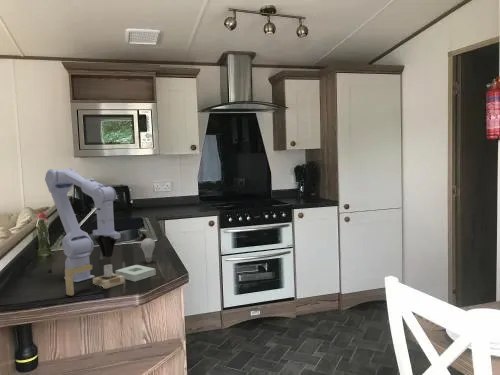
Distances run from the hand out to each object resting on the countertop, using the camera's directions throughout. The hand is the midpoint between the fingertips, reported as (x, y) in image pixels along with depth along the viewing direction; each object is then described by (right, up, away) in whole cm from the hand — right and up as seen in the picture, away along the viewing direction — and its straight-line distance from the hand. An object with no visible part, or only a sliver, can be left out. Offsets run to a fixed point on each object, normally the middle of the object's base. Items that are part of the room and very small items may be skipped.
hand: (107, 256), depth 145 cm
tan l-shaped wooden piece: (-7, -11, -8) cm, 15 cm away
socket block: (0, -10, +1) cm, 10 cm away
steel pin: (0, -10, +1) cm, 10 cm away
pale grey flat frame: (+7, -10, +10) cm, 16 cm away
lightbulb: (+7, -8, +30) cm, 32 cm away
